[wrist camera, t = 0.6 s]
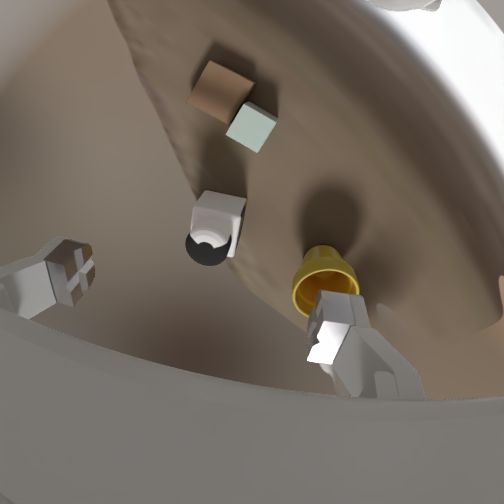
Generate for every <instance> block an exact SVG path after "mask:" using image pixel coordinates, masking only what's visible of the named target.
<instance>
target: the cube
mask: <svg viewBox="0 0 504 504" xmlns="http://www.w3.org/2000/svg"><path fill="white" fill-rule="evenodd" d="M277 120H278V118H277V117H275V116H273V115H272V114H270V113H268V112H267V111H265V110H263V109H261V108H260V107H258V106H256V105H254V104H253V103H251V102H249V101H248V102H246V103H244V104H243V106H242V108H241V109H240V111H239V113H238V114H237V116H236V118H235V119H234V121H233V123H232V124H231V126H230V128H229V130H228V131H227V133H226V135H227V136H229V137H230V138H232V139H234V140H236V141H238V142H239V143H241V144H243V145H245V146H246V147H248V148H250V149H251V150H253V151H255V152H257V153H258V151H259V149H260V148H261V146H262V145H263V143H264V142H265V140H266V138H267V137H268V135H269V134H270V132H271V131H272V129H273V127H274V126H275V124H276V123H277Z"/></svg>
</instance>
